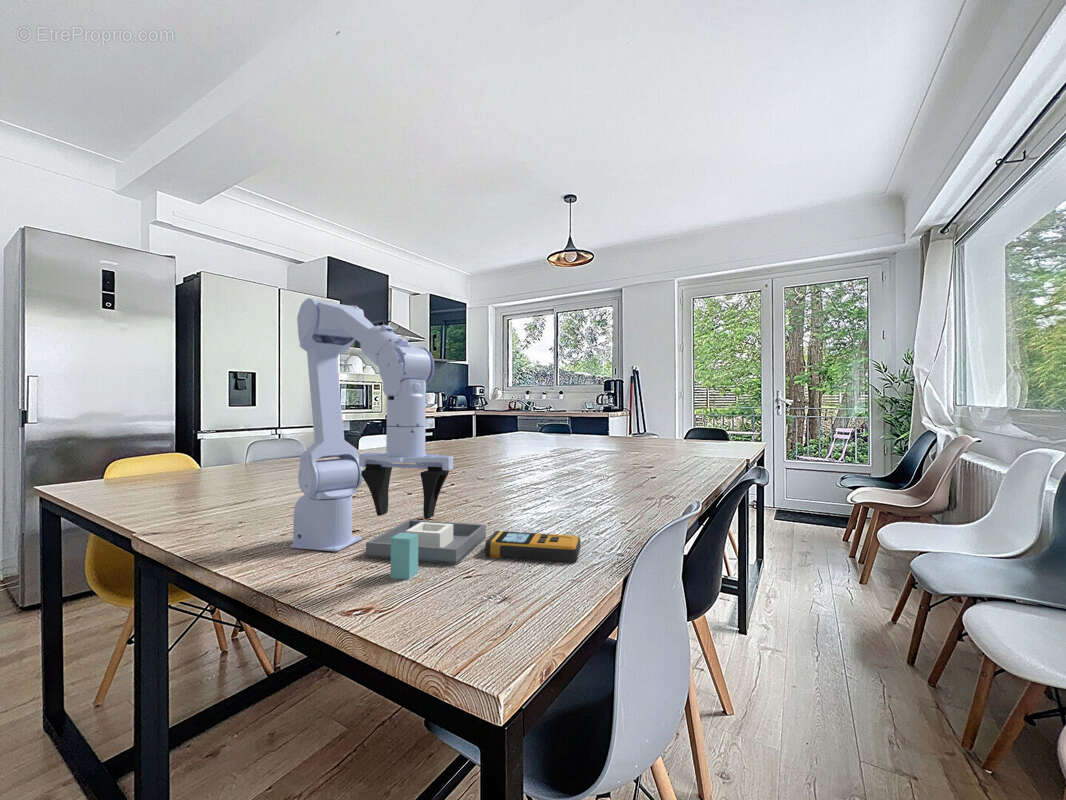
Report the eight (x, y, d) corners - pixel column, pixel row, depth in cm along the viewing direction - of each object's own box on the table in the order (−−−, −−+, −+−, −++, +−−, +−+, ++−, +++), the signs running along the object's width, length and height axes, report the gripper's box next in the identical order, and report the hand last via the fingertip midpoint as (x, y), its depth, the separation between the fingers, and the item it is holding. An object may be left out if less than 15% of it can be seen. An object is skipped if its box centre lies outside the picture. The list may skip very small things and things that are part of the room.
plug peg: (390, 578, 73) (390, 537, 73) (399, 571, 76) (400, 532, 75) (409, 579, 72) (409, 539, 72) (418, 572, 75) (418, 533, 75)
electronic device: (576, 568, 80) (576, 547, 79) (484, 560, 82) (484, 540, 82) (580, 552, 88) (581, 533, 88) (496, 545, 91) (496, 527, 91)
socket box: (365, 557, 82) (366, 536, 82) (408, 532, 97) (409, 514, 97) (456, 565, 78) (456, 543, 78) (485, 537, 94) (485, 519, 94)
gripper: (347, 426, 71) (346, 519, 71) (441, 428, 68) (440, 525, 68) (373, 424, 78) (372, 508, 78) (458, 426, 75) (457, 513, 75)
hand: (405, 515), depth 74 cm, fingers open, 7 cm apart
